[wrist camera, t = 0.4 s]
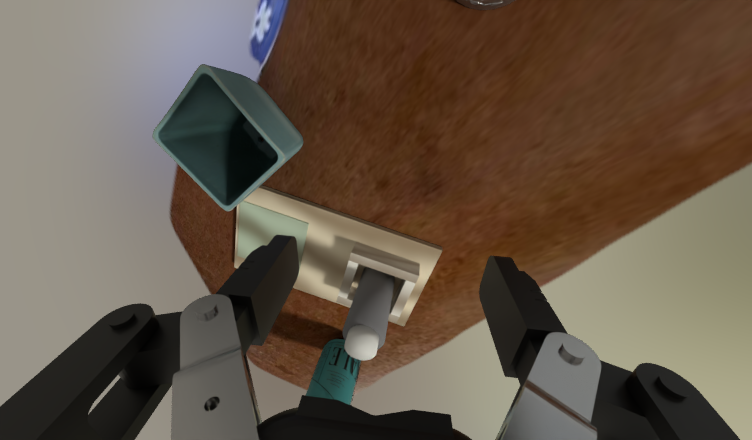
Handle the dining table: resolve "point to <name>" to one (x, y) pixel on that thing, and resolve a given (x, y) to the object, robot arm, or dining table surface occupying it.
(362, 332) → the grey capped cylinder
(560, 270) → the dining table surface
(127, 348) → the robot arm
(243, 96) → the flower pot
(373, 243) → the cream tray
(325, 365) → the beverage bottle
